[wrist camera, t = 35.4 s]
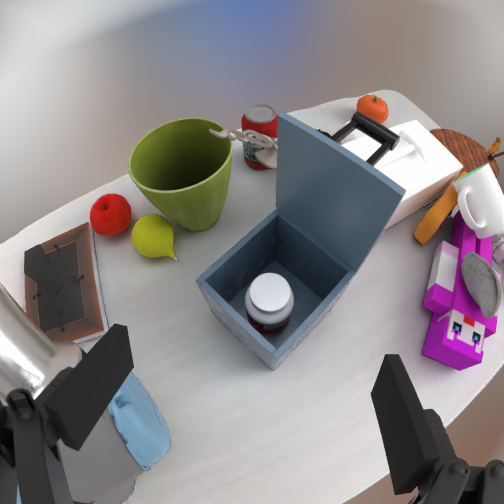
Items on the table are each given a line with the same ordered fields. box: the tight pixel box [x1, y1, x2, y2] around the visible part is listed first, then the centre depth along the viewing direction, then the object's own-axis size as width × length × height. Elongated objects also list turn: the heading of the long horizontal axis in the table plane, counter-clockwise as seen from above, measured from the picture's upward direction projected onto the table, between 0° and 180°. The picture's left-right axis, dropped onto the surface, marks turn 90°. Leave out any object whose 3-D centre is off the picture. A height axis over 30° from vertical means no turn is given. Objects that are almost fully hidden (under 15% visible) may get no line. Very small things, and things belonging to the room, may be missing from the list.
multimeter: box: [414, 172, 468, 245], centre depth 49 cm, size 9×18×3 cm
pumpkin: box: [357, 95, 388, 123], centre depth 63 cm, size 8×8×7 cm
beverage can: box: [242, 104, 278, 169], centre depth 55 cm, size 7×7×12 cm
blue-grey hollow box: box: [195, 208, 357, 371], centre depth 40 cm, size 14×13×13 cm
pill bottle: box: [245, 273, 294, 336], centre depth 40 cm, size 6×6×11 cm
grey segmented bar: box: [492, 230, 504, 263], centre depth 50 cm, size 20×4×7 cm
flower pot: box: [128, 118, 232, 232], centre depth 47 cm, size 15×15×16 cm
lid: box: [276, 111, 406, 271], centre depth 30 cm, size 14×13×9 cm
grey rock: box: [461, 252, 501, 318], centre depth 37 cm, size 12×8×5 cm
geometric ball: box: [340, 120, 367, 145], centre depth 58 cm, size 8×8×8 cm
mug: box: [453, 163, 504, 239], centre depth 40 cm, size 12×8×10 cm
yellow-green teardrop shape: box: [132, 214, 183, 265], centre depth 48 cm, size 7×7×10 cm
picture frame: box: [24, 222, 109, 344], centre depth 47 cm, size 16×2×22 cm
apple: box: [90, 194, 131, 235], centre depth 51 cm, size 8×8×7 cm
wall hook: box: [209, 128, 277, 168], centre depth 49 cm, size 5×30×4 cm
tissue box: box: [341, 120, 463, 230], centre depth 51 cm, size 14×25×11 cm, turn 118°
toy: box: [422, 209, 501, 371], centre depth 43 cm, size 14×6×30 cm
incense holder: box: [429, 129, 504, 178], centre depth 53 cm, size 21×30×11 cm
